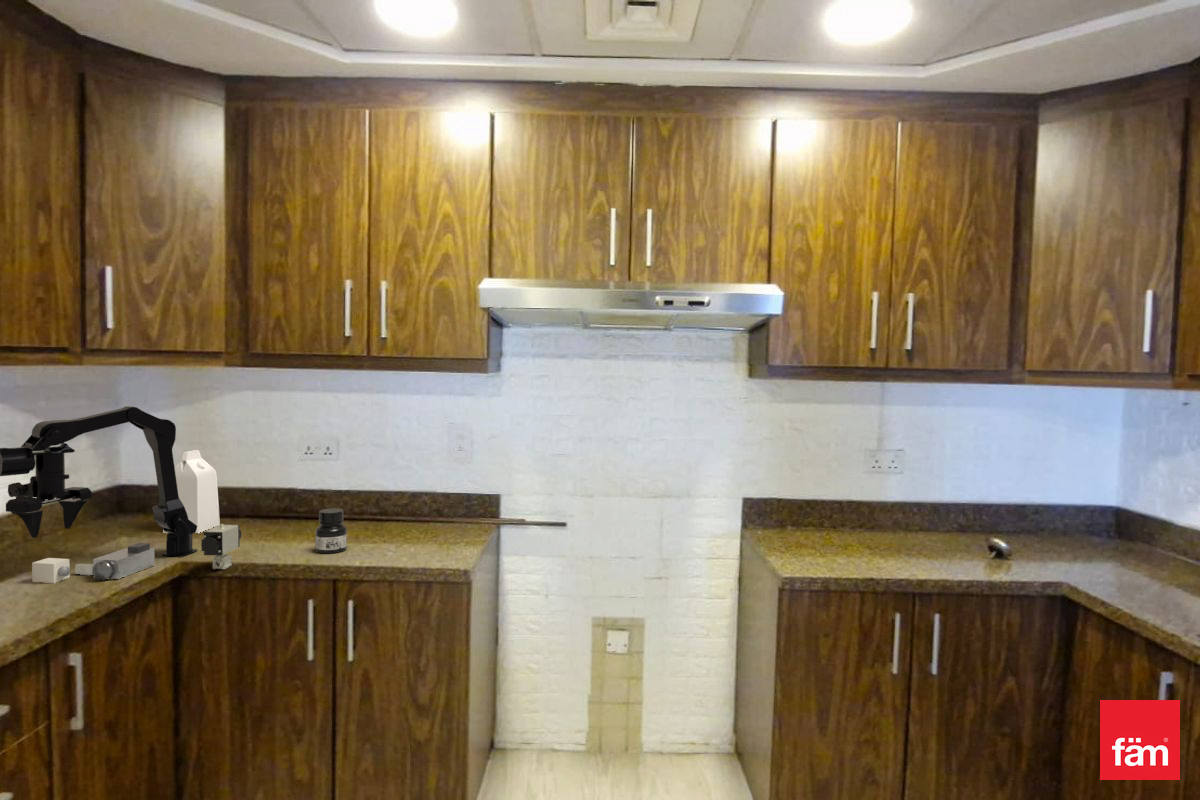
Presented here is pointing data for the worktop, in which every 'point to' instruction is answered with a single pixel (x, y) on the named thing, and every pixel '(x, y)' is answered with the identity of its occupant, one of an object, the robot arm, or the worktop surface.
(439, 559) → the worktop surface
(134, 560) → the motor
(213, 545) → the pneumatic valve
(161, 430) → the robot arm
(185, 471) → the milk
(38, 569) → the white block
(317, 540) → the ink bottle
